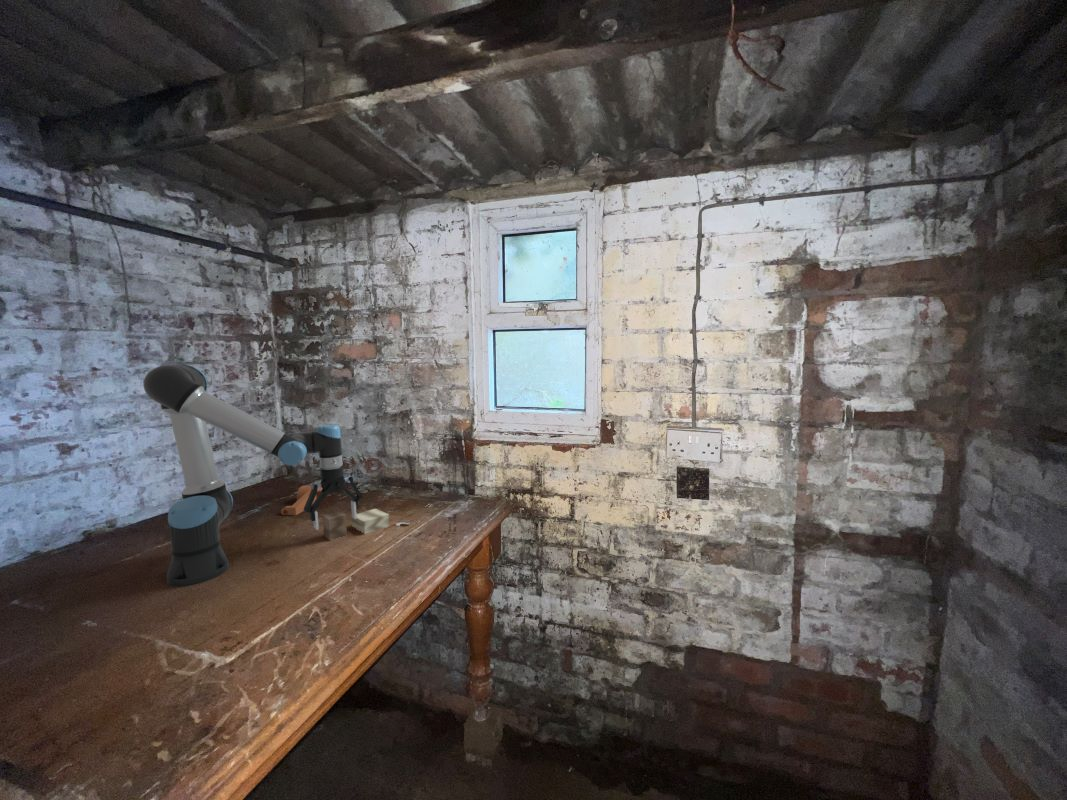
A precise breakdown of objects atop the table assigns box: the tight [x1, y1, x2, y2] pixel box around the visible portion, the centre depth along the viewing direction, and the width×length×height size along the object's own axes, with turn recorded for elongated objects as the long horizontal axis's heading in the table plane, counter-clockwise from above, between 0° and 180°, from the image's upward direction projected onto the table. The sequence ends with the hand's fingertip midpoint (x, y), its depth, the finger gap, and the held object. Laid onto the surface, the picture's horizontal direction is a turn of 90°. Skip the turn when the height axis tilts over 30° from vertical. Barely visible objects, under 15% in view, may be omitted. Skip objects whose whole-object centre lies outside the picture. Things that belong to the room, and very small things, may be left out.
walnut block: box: [322, 510, 348, 541], centre depth 158 cm, size 6×6×8 cm
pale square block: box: [351, 508, 390, 535], centre depth 167 cm, size 10×10×5 cm
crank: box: [280, 485, 323, 516], centre depth 188 cm, size 20×8×8 cm, turn 174°
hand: (335, 523), depth 158 cm, fingers open, 13 cm apart
